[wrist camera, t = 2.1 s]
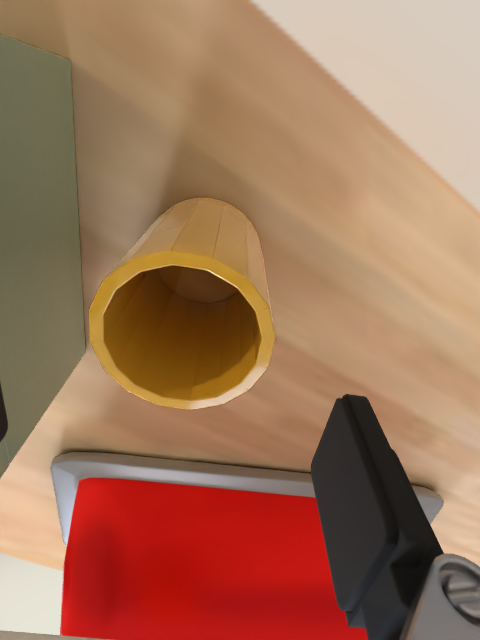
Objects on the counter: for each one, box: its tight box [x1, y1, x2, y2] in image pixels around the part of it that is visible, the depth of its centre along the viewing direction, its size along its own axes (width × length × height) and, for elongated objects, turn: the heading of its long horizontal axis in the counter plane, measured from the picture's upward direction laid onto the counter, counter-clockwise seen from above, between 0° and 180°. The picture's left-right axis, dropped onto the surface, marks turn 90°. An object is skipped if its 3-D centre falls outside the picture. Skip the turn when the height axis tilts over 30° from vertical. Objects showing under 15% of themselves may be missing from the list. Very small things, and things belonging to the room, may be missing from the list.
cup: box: [89, 197, 276, 410], centre depth 16 cm, size 6×6×9 cm
